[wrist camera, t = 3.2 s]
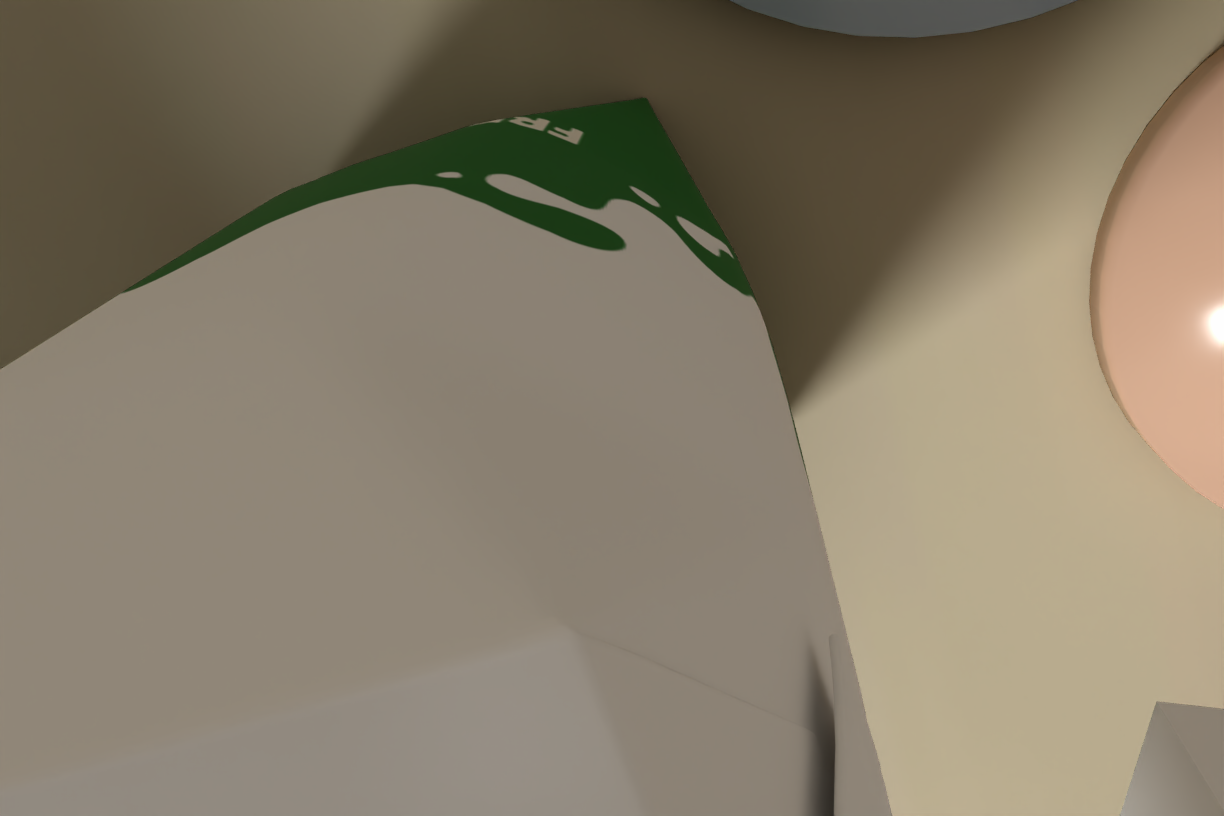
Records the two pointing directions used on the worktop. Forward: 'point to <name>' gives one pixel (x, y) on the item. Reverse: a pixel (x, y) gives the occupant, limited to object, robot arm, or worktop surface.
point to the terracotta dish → (1169, 283)
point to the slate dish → (901, 14)
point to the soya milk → (428, 511)
